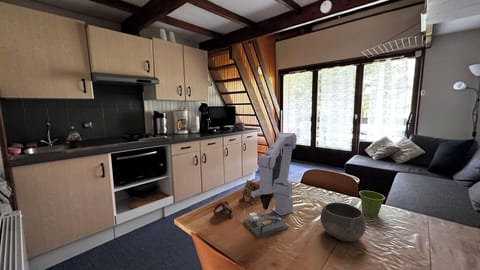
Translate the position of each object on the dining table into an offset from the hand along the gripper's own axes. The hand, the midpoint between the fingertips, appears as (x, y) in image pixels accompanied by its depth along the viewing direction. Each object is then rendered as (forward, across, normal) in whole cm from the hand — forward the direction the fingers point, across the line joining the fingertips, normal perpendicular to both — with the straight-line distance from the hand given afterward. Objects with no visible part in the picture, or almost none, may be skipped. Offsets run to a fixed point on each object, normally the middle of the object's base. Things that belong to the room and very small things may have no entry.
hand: (265, 208), depth 97 cm
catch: (+8, +3, -5) cm, 10 cm away
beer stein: (+10, -34, -41) cm, 55 cm away
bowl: (+10, -28, +20) cm, 35 cm away
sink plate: (+10, -2, -2) cm, 10 cm away
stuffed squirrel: (+10, -9, -30) cm, 33 cm away
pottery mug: (+10, +13, -20) cm, 26 cm away
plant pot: (+10, -58, +14) cm, 61 cm away
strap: (+6, -2, 0) cm, 6 cm away
